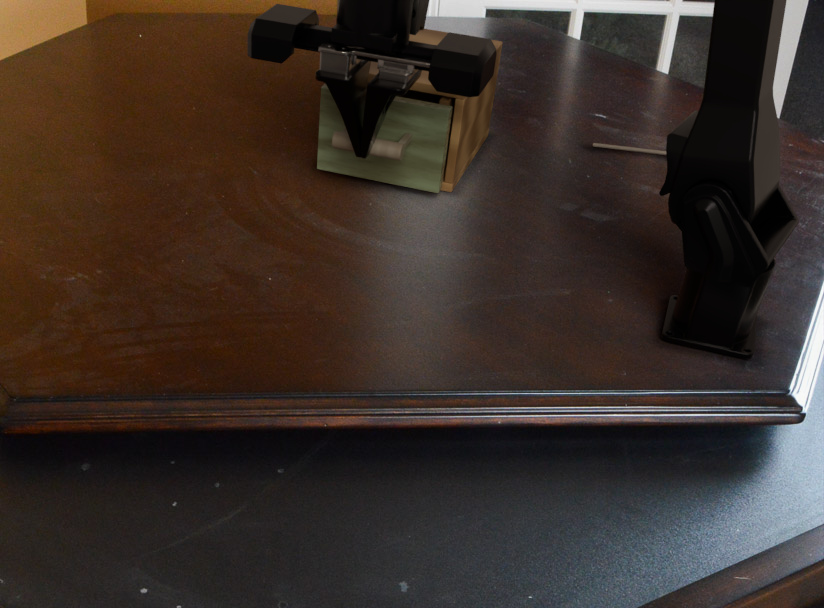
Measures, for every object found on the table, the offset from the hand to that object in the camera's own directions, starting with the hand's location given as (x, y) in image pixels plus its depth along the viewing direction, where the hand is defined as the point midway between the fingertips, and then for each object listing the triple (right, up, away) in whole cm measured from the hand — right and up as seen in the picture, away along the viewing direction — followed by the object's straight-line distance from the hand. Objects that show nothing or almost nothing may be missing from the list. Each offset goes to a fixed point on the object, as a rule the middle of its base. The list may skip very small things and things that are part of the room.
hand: (362, 156), depth 87 cm
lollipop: (+31, +5, +16) cm, 35 cm away
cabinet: (+5, +5, +14) cm, 16 cm away
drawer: (+3, +3, +10) cm, 10 cm away
